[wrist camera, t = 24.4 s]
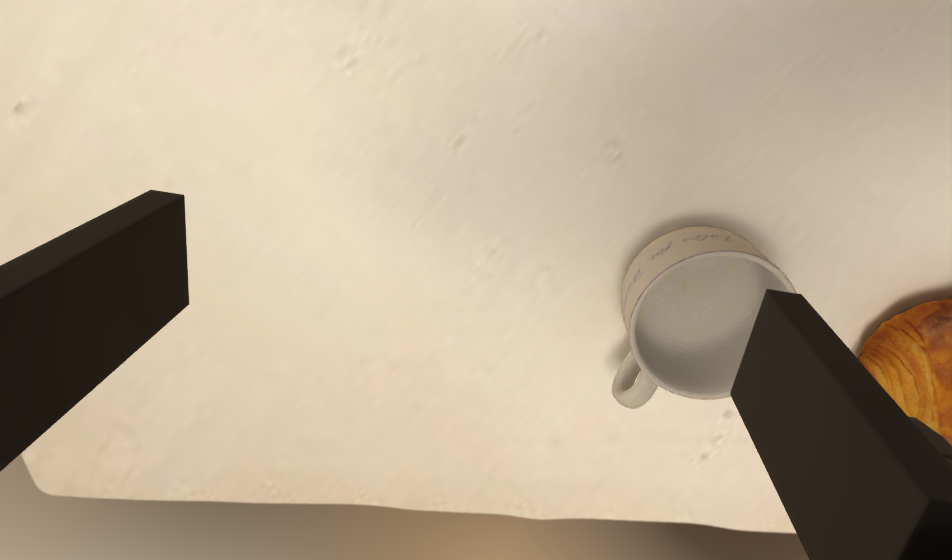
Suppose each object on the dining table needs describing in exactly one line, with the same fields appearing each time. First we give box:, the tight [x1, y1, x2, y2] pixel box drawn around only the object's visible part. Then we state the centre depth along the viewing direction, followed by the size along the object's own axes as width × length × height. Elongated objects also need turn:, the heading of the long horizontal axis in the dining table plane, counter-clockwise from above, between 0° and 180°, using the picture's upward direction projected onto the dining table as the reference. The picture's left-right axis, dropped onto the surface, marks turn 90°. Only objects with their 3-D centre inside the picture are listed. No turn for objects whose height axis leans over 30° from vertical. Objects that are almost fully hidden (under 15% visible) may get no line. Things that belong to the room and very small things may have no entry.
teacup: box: [612, 226, 797, 409], centre depth 46 cm, size 14×11×8 cm
